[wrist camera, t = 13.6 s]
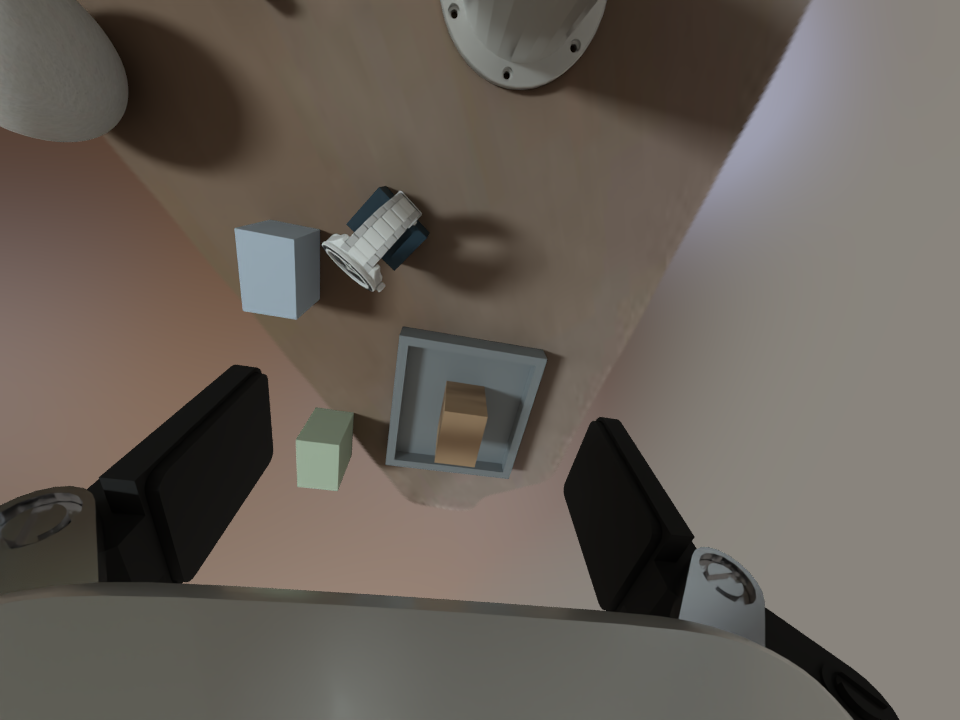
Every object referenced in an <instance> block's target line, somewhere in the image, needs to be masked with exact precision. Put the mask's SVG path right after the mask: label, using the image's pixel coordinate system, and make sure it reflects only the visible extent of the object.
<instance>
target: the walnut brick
mask: <svg viewBox="0 0 960 720" xmlns="http://www.w3.org/2000/svg"><path fill="white" fill-rule="evenodd" d="M487 418H488V414H487V405H486V396H485V387H484V386H478V385H472V384H465V383H459V382H452V381H447V382H446V387H445V392H444V397H443V403H442V408H441V413H440V418H439V423H438V429H437V440H436V451H435V462H434V463H443V464H451V465H459V466H467V467H475V464H476V460H477V456H478V452H479V449H480V445H481V441H482V437H483V434H484V430H485V426H486V422H487Z"/></svg>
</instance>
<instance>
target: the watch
mask: <svg viewBox="0 0 960 720" xmlns="http://www.w3.org/2000/svg"><path fill="white" fill-rule="evenodd" d="M421 215H422V213H421V212H420V210H419V209H418V208H417V207H416V206H415V205H414V204H413V203H412V202H411V200H410V199H409V198H408V197H407V196H406V195H405V194H404V193H403V192H402V191H399V192H398V193H397V194H396V195H394V194H393V193H392V192H391V191H390V190H389V189H388V188H387V187H386V186H384V187H379V188H378V189H377V190H376V191H375V192H374V194H373V195H372V196H371V197H370V198H369V199H368V200H367V201H366V203H365V204H364V205H363V206H362V207H361V208H360V209H359V210H358V212H357V213H356V214H355V215H354V216H353V217H352V218H351V220H350V221H349V222H348V223H347V224H346V225H347V226H349V227H350V228H351V229H352V230H353V231H354V234H353V235H352V236H351V237H350V238H349V236H348V235H347V234H343V235H339V234H334V235H332V236H331V237H330V238H329V239H328V240H327V241H324V242H323V243H322V247H323V249H324V250H325V252H326V253H327V254H328V255H329V257H330V258H331V259H332V260H333V261H334V262H335V263H336V264H337V265H338V266H339V267H340V268H341V269H342V270H343V271H344V272H345V273H346V274H347V275H349V276H350V277H351V278H352V279H353V280H355V281H356V282H357V283H358V284H360V285H361V286H363V287H364V288H366V289H367V290H369V291H374V290H375V289H376V290H377V291H378V292H380V291H381V290H383V288H384V287H385V286H386V285H385V284H384V283H383V282H381V281H382V275H381V272H380V266H379V265H378V264H377V265H375V264H376V263H377V262H378V261H379V260H380V258H382V259H383V260H384V261H385V262H386V263H387V264H388V265H389V266H390V267H391V268H392V269H393V270H394V271H395V270H396V269H397V268H398V267H399V266H400V265H401V264H402V263H403V262H404V261H405V260H406V259H407V258H408V257H409V256H410V255H411V254H412V253H413V252H414V250H415V249H416V248H417V247H418V246H419V245H420V244H421V243H422V242H423V241H424V240H425V239H426V238H427V237H428V235H429V232H428V231H427V230H426V228H425V227H424V226H423V225H422V224H421V223H420V222H419V221H418V220H417V219H418V218H419V217H420V216H421ZM348 238H349V239H348ZM380 282H381V283H380ZM375 287H376V288H375Z"/></svg>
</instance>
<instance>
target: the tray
mask: <svg viewBox="0 0 960 720" xmlns="http://www.w3.org/2000/svg"><path fill="white" fill-rule="evenodd" d="M546 362H547V358H546V355H545V353H544V351H543V350H541V349H535V348H529V347H523V346H517V345H511V344H505V343H499V342H493V341H487V340H481V339H475V338H469V337H463V336H457V335H451V334H445V333H439V332H433V331H427V330H421V329H415V328H409V327H403V328H402V330H401V333H400V336H399V345H398V354H397V364H396V373H395V382H394V391H393V400H392V409H391V418H390V428H389V437H388V446H387V455H386V464H385V465H392V466H401V467H409V468H418V469H427V470H436V471H444V472H453V473H462V474H470V475H479V476H488V477H496V478H505V479H509V476H510V473H511V470H512V467H513V464H514V461H515V458H516V455H517V452H518V449H519V445H520V442H521V439H522V436H523V433H524V430H525V427H526V424H527V421H528V418H529V415H530V411H531V408H532V405H533V402H534V399H535V396H536V393H537V390H538V387H539V384H540V381H541V377H542V374H543V371H544V368H545V365H546ZM447 381H452V382H459V383H465V384H472V385H478V386H484V387H485V396H486V405H487V414H488V418H487V422H486V426H485V430H484V434H483V437H482V441H481V445H480V449H479V452H478V456H477V460H476V464H475V467H467V466H459V465H451V464H443V463H434V462H435V451H436V440H437V429H438V423H439V418H440V413H441V408H442V403H443V397H444V392H445V387H446V382H447Z"/></svg>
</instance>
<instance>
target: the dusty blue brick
mask: <svg viewBox="0 0 960 720" xmlns="http://www.w3.org/2000/svg"><path fill="white" fill-rule="evenodd" d="M235 238H236V248H237V258H238V267H239V277H240V287H241V297H242V306H243V311H247V312H253V313H259V314H265V315H271V316H278V317H284V318H290V319H296V320H297V319H298V318H299V317H300V316H301V315H302V314H303V313H305V312H306V311H307V310H308V309H309V308H310V307H311V306H313V305H314V304H315V303H316V302H317V301H318V300H319V299H320V229H315V228H310V227H304V226H299V225H294V224H289V223H284V222H279V221H274V220H267V221H263V222H258V223H254V224H250V225H246V226H242V227H237V228H235Z"/></svg>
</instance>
